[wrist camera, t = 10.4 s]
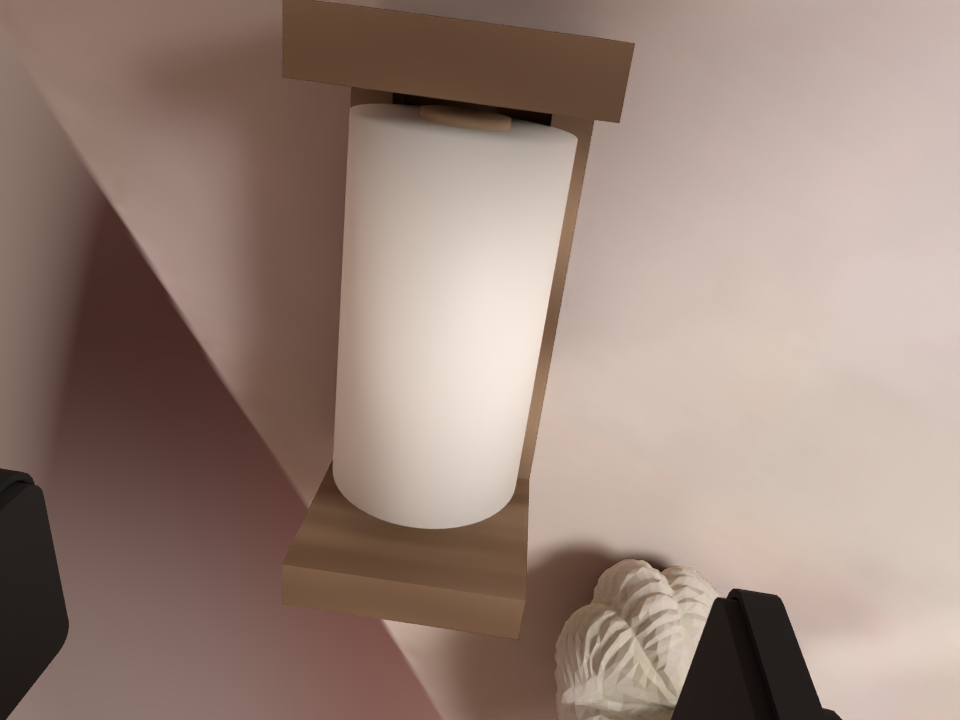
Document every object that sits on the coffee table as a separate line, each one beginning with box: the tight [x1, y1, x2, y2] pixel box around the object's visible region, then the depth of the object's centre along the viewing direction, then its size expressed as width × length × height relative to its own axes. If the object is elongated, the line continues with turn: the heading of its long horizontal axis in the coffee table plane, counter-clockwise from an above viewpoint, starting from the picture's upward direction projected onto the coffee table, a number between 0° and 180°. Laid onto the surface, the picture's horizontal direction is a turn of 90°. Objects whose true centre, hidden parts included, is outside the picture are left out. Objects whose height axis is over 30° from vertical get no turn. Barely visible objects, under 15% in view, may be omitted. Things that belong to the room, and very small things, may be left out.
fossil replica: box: [554, 559, 725, 720], centre depth 29 cm, size 12×8×10 cm
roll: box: [333, 104, 578, 529], centre depth 21 cm, size 12×6×6 cm, turn 173°
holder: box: [282, 0, 635, 640], centre depth 21 cm, size 16×7×9 cm, turn 173°
